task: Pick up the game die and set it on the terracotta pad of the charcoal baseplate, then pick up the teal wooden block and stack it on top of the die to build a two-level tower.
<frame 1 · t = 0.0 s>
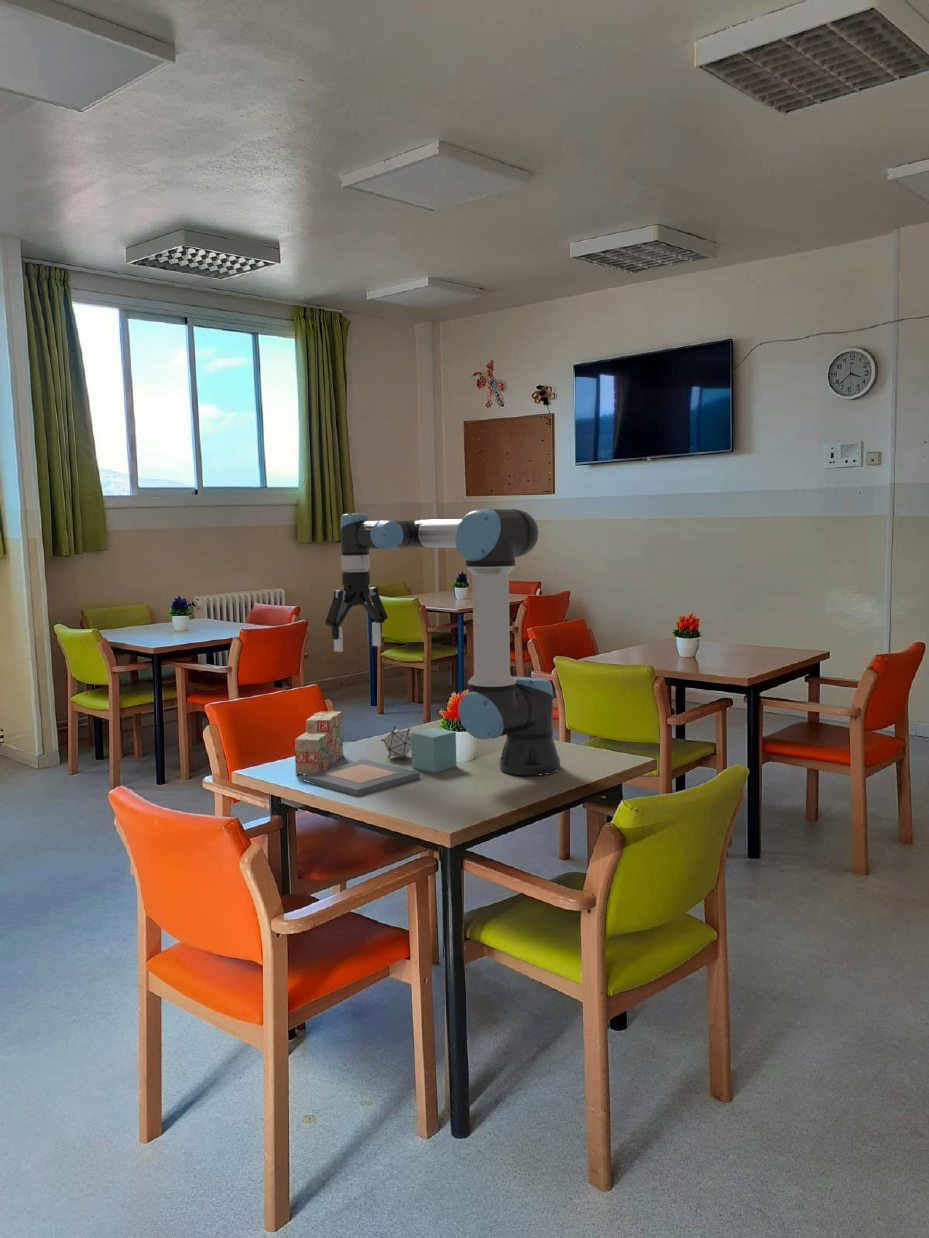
hand: (358, 648, 262), 28 cm above the table, tool pointing down, fingers open, 13 cm apart
stack of blocks: (320, 766, 249), on the table
teal block: (434, 767, 244), on the table
game die: (399, 758, 255), on the table
baseplate: (361, 779, 233), on the table
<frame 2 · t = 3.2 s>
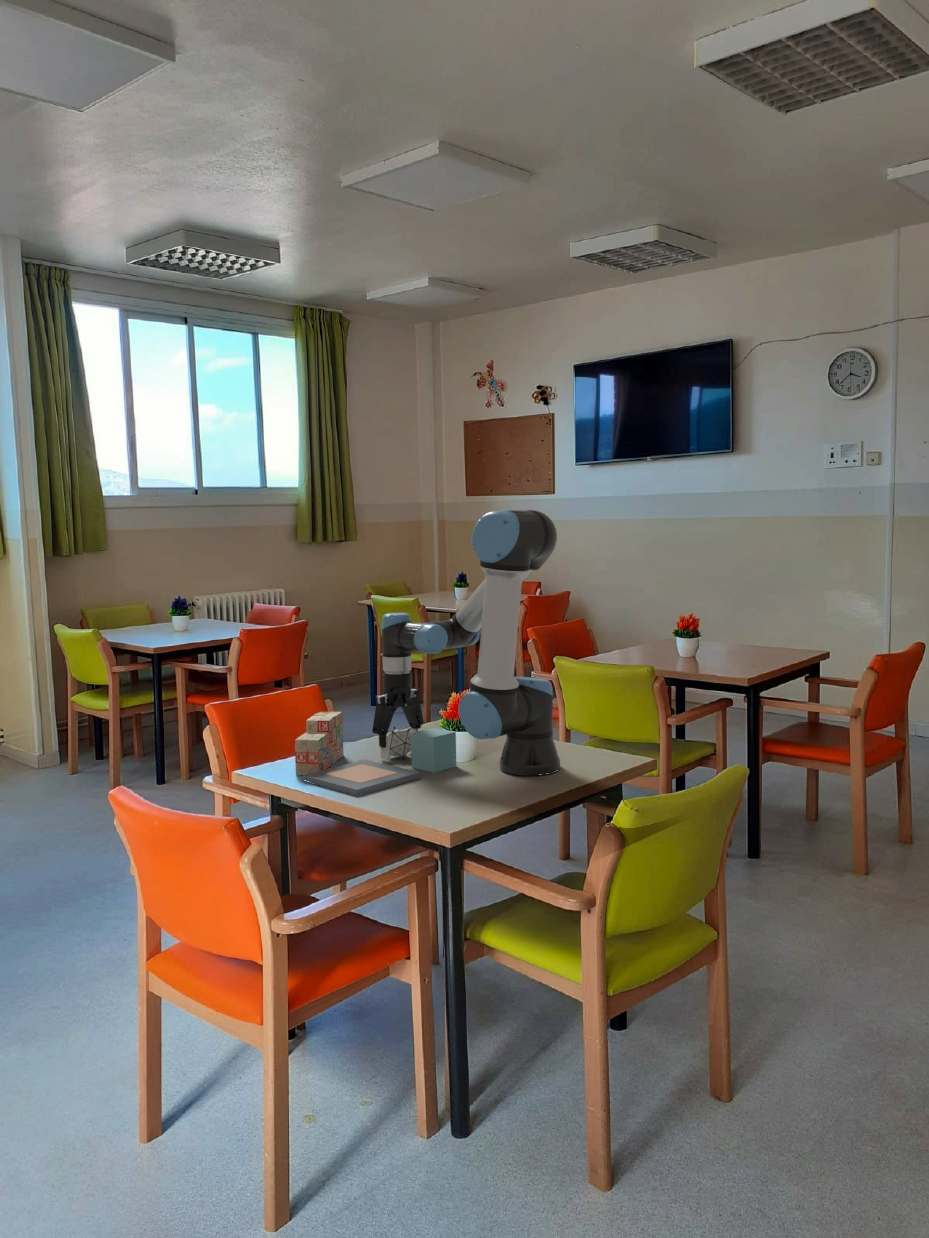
hand: (399, 755, 255), 1 cm above the table, tool pointing down, fingers closed on game die, 9 cm apart
game die: (399, 758, 255), on the table, touching gripper
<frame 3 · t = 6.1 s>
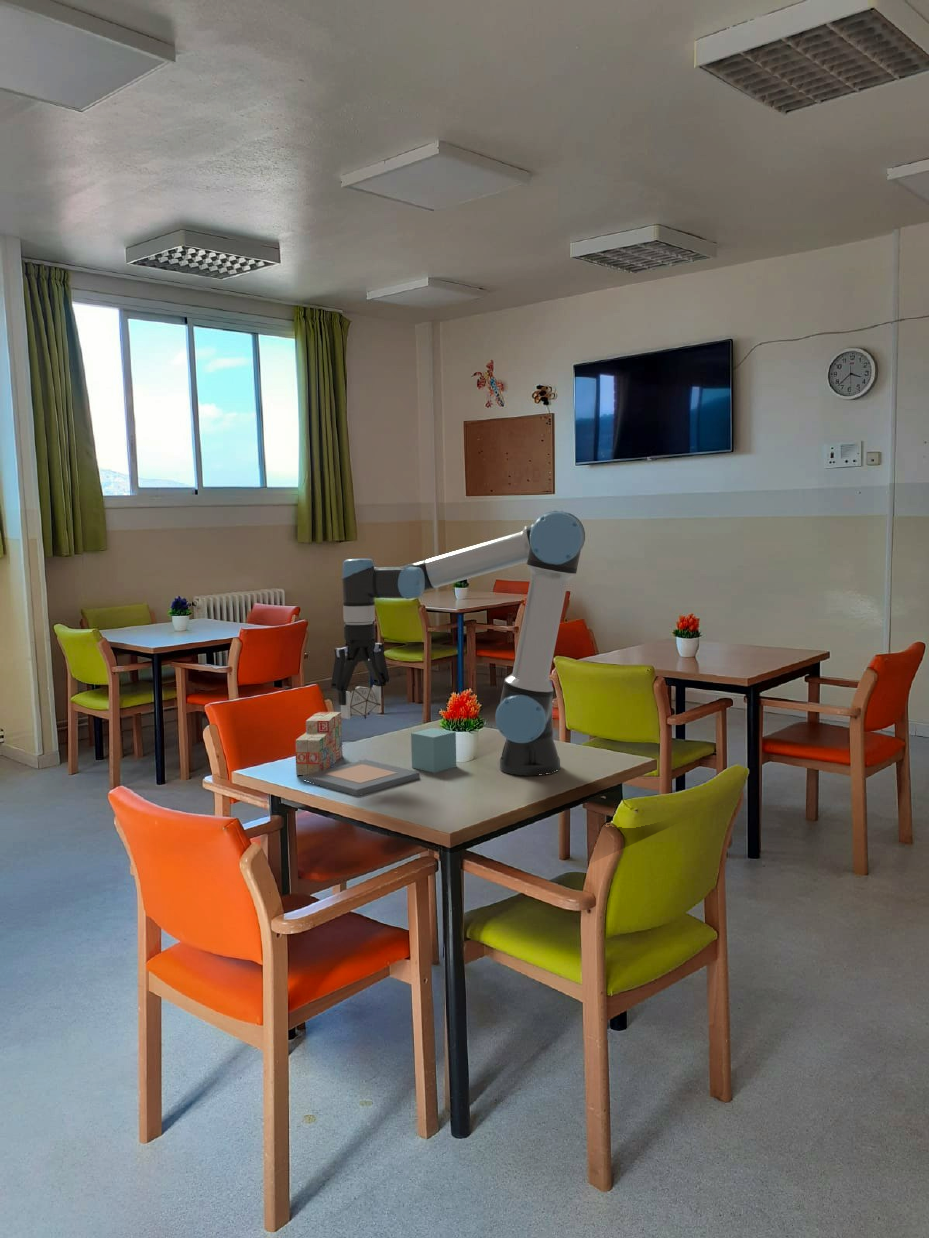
hand: (361, 714, 233), 16 cm above the table, tool pointing down, fingers closed on game die, 9 cm apart
game die: (361, 717, 233), point 15 cm above the table, touching gripper
when the fingers open (4 cm above the table, at t = 9.0 s): game die drops 1 cm, resting on baseplate.
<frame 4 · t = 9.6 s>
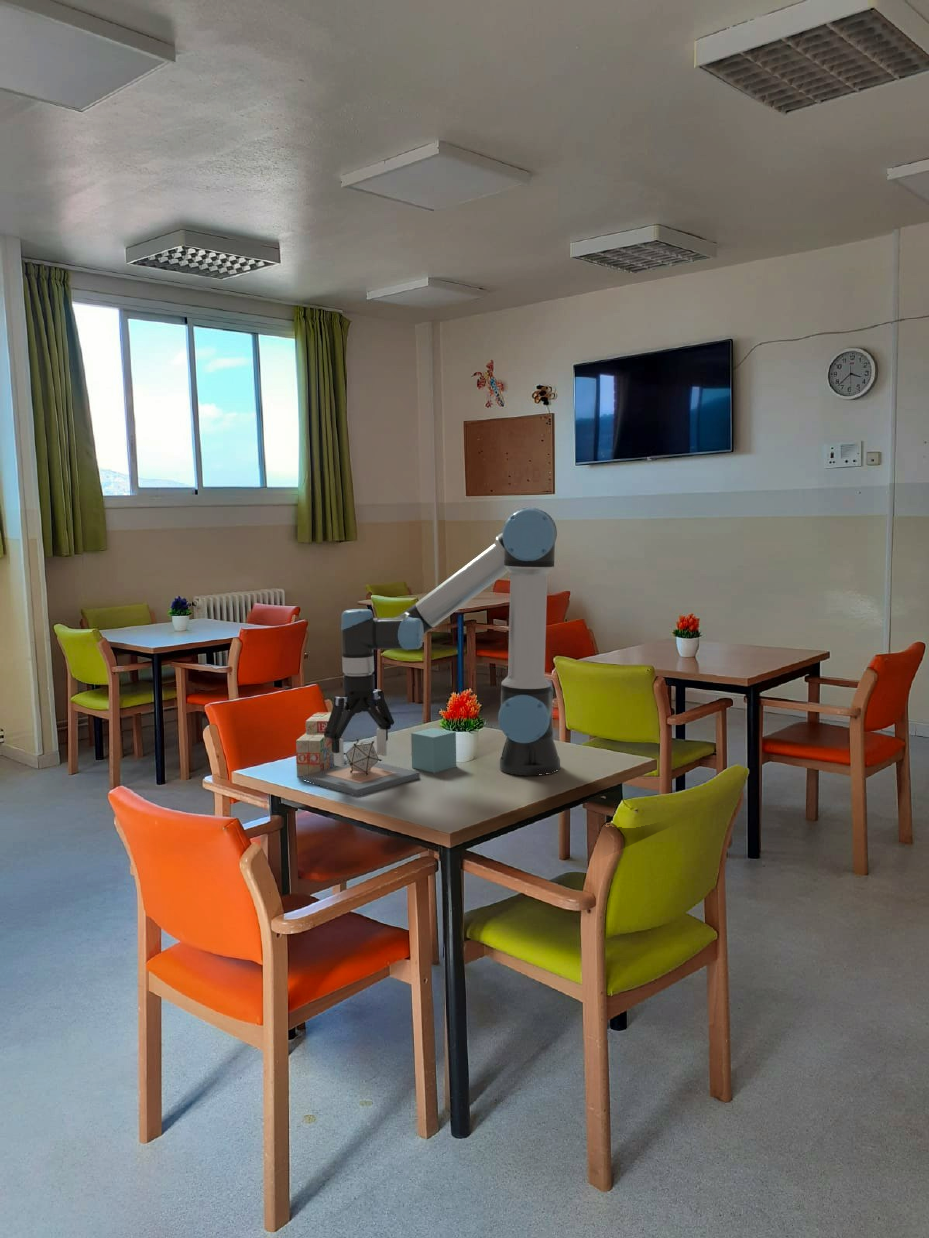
hand: (360, 760, 233), 5 cm above the table, tool pointing down, fingers open, 13 cm apart
game die: (362, 773, 234), point 1 cm above the table, touching baseplate
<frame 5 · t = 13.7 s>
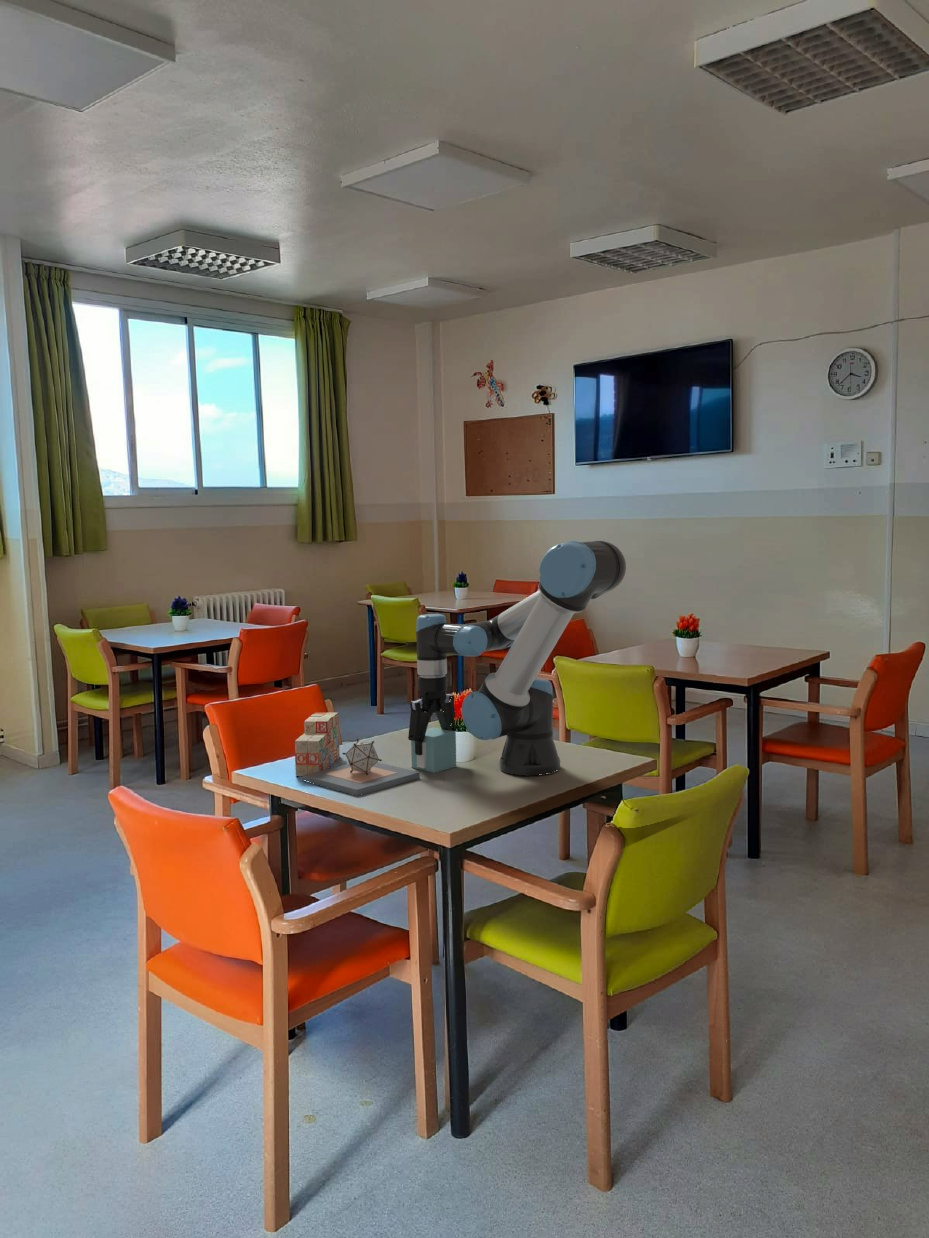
hand: (434, 763, 244), 1 cm above the table, tool pointing down, fingers closed on teal block, 8 cm apart
teal block: (434, 766, 245), on the table, touching gripper
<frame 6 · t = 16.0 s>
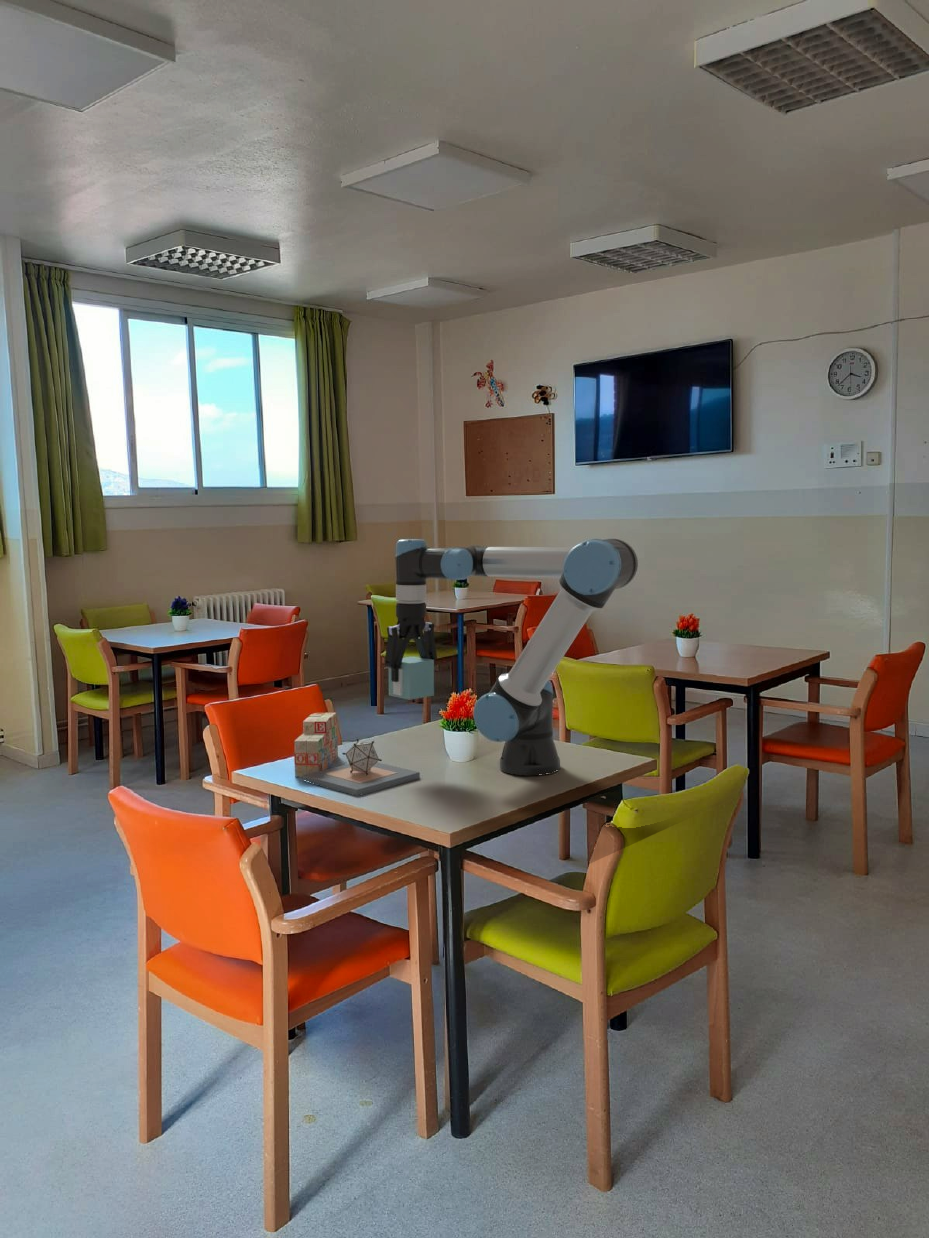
hand: (411, 692, 240), 20 cm above the table, tool pointing down, fingers closed on teal block, 8 cm apart
teal block: (411, 695, 240), point 19 cm above the table, touching gripper
when the fingers open (12 cm above the table, at t = 18.7 s): teal block drops 1 cm, resting on game die.
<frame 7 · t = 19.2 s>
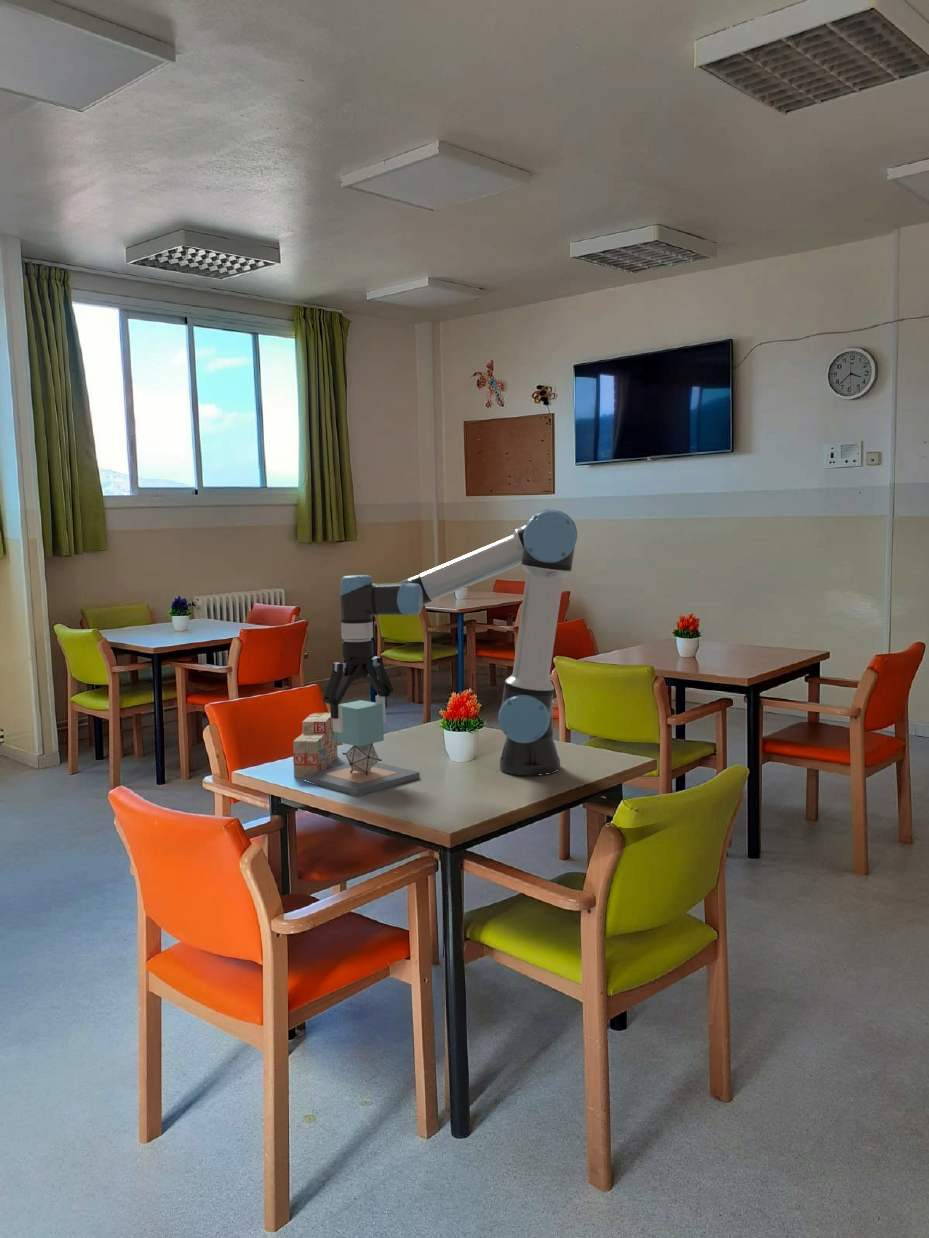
hand: (360, 727, 232), 13 cm above the table, tool pointing down, fingers open, 13 cm apart
teal block: (360, 741, 232), point 10 cm above the table, touching game die
game die: (362, 773, 234), point 1 cm above the table, touching baseplate, teal block
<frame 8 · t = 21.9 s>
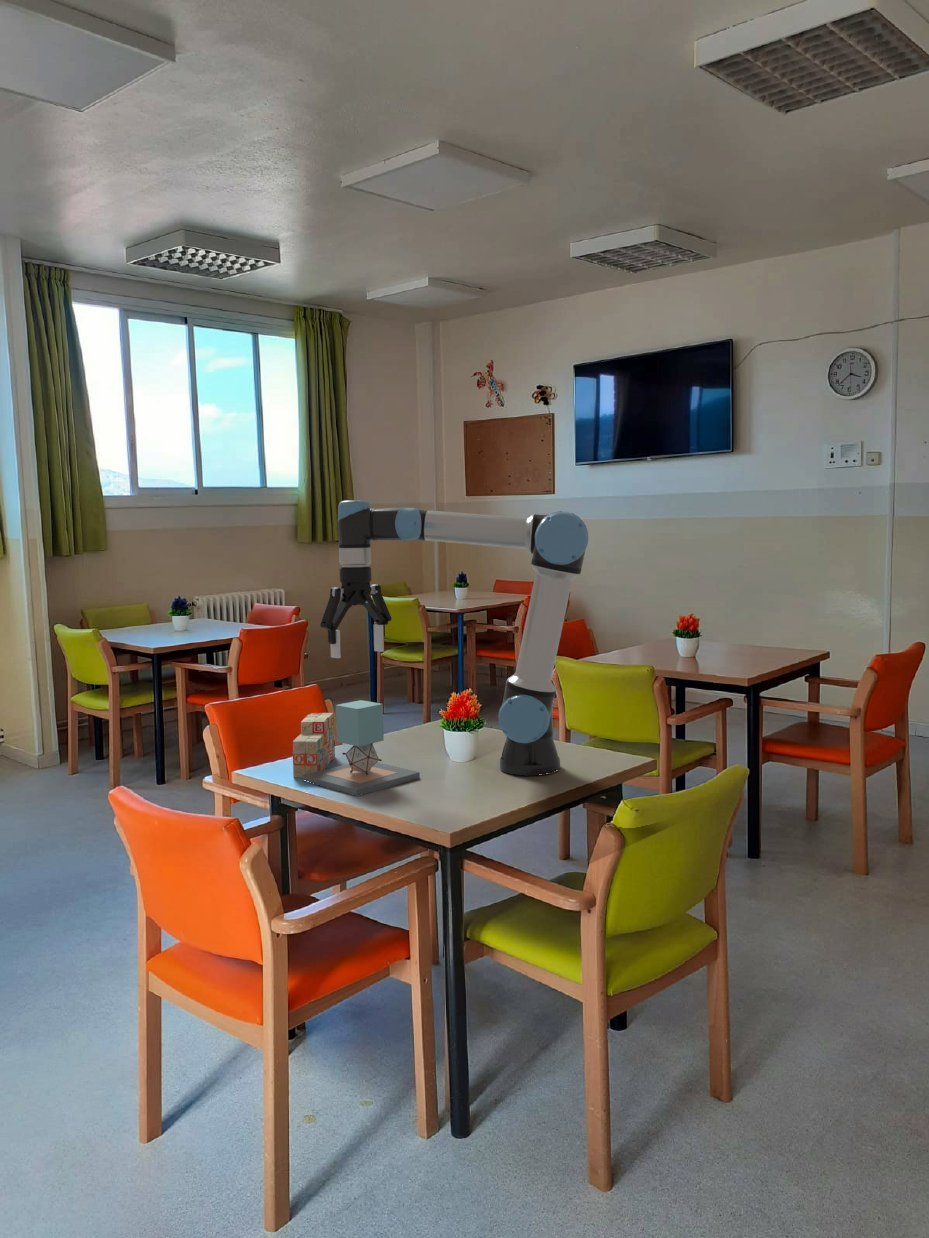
hand: (357, 654, 230), 31 cm above the table, tool pointing down, fingers open, 13 cm apart
at the end: game die inside the target area on the baseplate (0.4 cm from its centre), point 1.4 cm above the baseplate's base; teal block inside the target area on the baseplate (0.0 cm from its centre), point 9.6 cm above the baseplate's base; teal block touching game die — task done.
